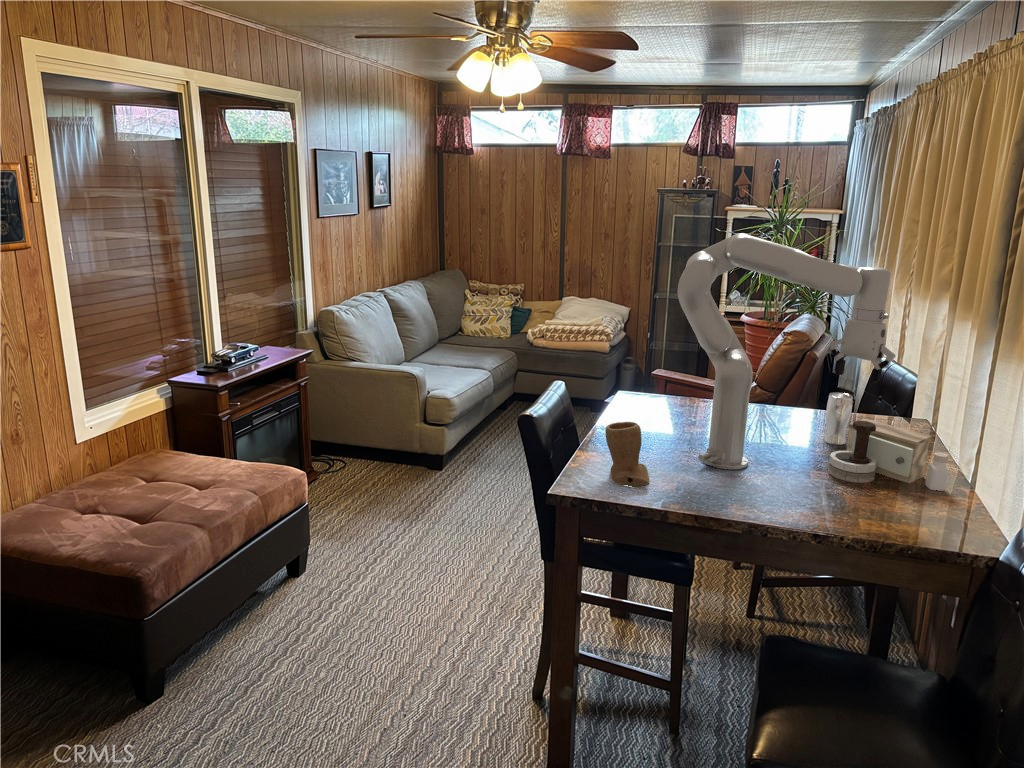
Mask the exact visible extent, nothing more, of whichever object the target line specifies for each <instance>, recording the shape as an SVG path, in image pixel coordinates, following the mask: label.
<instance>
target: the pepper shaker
mask: <svg viewBox="0 0 1024 768" xmlns="http://www.w3.org/2000/svg"><path fill="white" fill-rule="evenodd" d="M932 459H933V461H932V463H929V464H928V468H927V472H926V473H927V474H926V478H925V484H924V485H925V486H926V487H927V488H928V490H930V491H936V490H937V491H938V492H945V491H946V490H947V485H948V480H949V475H950V469H949V467H948V466H947V464H948V460H949V455H948V454H947V453H944V452H934V454H933V458H932ZM937 491H936V492H937Z"/></svg>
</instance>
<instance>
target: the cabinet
mask: <svg viewBox="0 0 1024 768" xmlns="http://www.w3.org/2000/svg"><path fill="white" fill-rule="evenodd" d="M858 421H868V422H871V423H873V424H875V426H876V431H873V432H870V435H871V436H874V437H877V438H880V439H883V440H887V441H890V442H893V443H896V444H899V445H902V446H905V447H908V448H911V449H914V450H913V456H912V461H911V467H910V473H909V476H908V477H905V476H902V475H899V474H897V473H894V472H891V471H888V470H886V469H883V468H880V467H877V466H876V468H875V471H873V472H869V473H855V472H849V471H844V470H841V469H839V468H836V467H834V466H832V465H831V464H830V463H829V462H828V471H827V472H828V474H829V475H830V474H831V476H832V477H833V476H834V477H833V478H835V479H838V480H842V481H843V482H851V483H858V484H862V483H863V484H864V483H870V482H872V481H875V477H876V474H878V473H879V474H878V475H881V474H882V475H881V476H884V475H885V477H888V478H891V479H893V480H894V479H895V480H897V481H901V482H903V483H907V484H911V483H913V482H915V481H917V480H919V479H921V478H924V475H925V474H924V473H925V469H926V468H925V467H926V463H927V457H928V453H929V445H930V440H932V439H933V435H929V434H926V433H922V432H919V431H914V430H911V429H907V428H902V427H899V426H894V425H890V424H887V423H884V422H879V421H875V420H872V419H868V418H862V419H860V420H859V419H858ZM852 426H853V422H851V423H848V427H849V433H848V439H847V445H846V451H851V450H852V443H853V437H854V431H857V430H855V429H854V428H853V427H852ZM839 460H842V461H844V462H848V463H850V461H849V459H839ZM875 472H876V473H875Z"/></svg>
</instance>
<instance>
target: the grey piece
mask: <svg viewBox="0 0 1024 768" xmlns="http://www.w3.org/2000/svg"><path fill="white" fill-rule="evenodd" d="M855 441H856V431H854V437H853V443H852V450H851V451H847V450H835V451H831V453H830V455H829V461H828V464H829V463H830V464H831V465H832V466H834V467H836V468H839V469H841V470H844V471H849V472H855V473H869V472H873V471H875V468H876V466H877V467H880V468H883V469H886V470H888V471H891V472H894V473H897V474H899V475H902V476H905V477H908V476H909V473H910V467H911V461H912V456H913V450H914V449H911V448H908V447H905V446H902V445H899V444H896V443H893V442H890V441H887V440H883V439H880V438H877V437H874V436H871V435H870V436H869V442H868V449H867V455H866V457H868V459H869V463H868V464H853V463H848V462H844V461H842V460H839V459H849V458H850V456H851V455H853V454H854V448H855Z"/></svg>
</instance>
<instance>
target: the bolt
mask: <svg viewBox="0 0 1024 768" xmlns="http://www.w3.org/2000/svg"><path fill="white" fill-rule="evenodd" d="M852 423H853V426H852V427H853V428H854V429H855V430H857V431H856V441H855V448H854V454H853V455H851V456H850V458H849V461H850V463H853V464H868V463H869V459H868V457H866V455H867V449H868V442H869V436H870V432H873V431H876V426H875V424H873V423H871V422H868V421H859V420H855V421H853V422H852Z"/></svg>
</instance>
